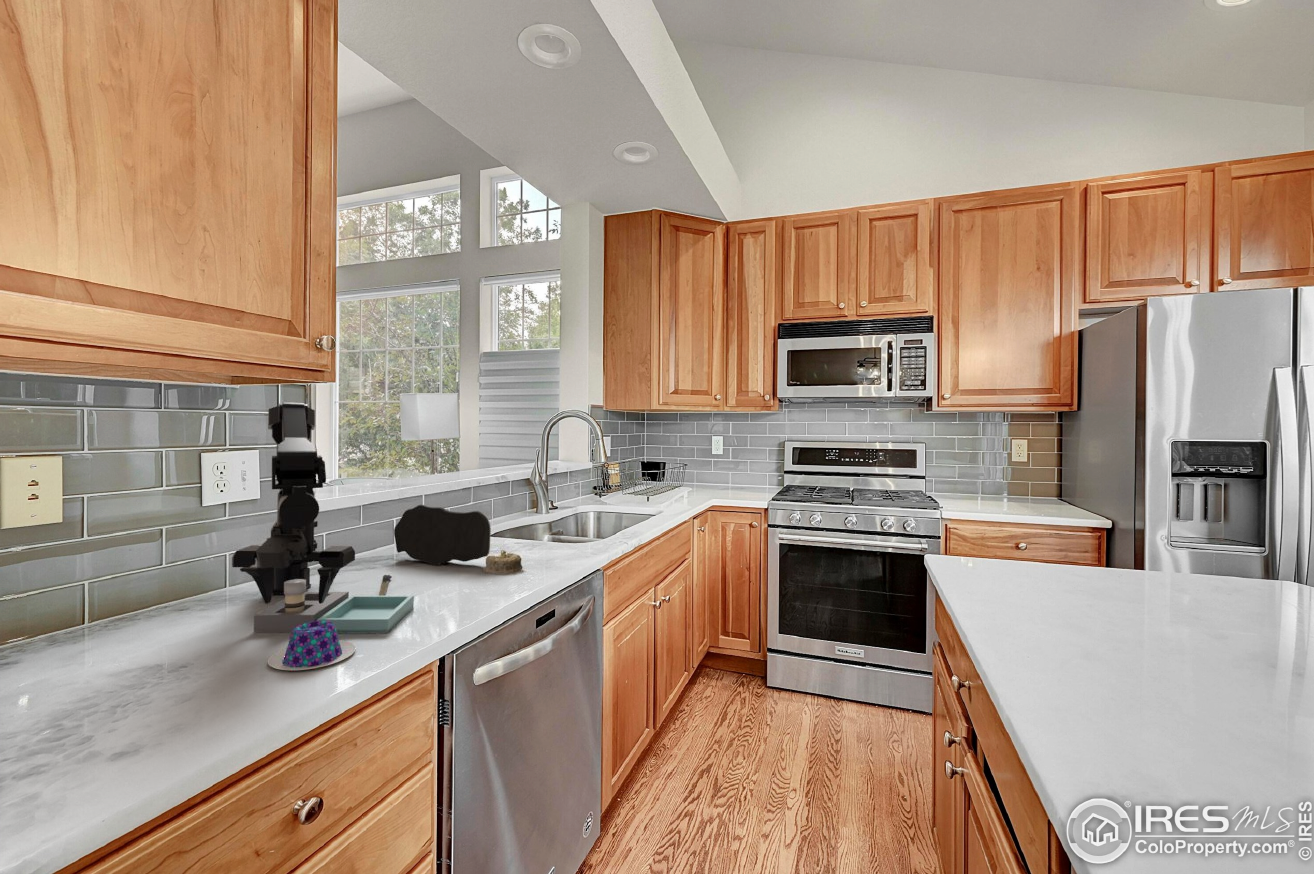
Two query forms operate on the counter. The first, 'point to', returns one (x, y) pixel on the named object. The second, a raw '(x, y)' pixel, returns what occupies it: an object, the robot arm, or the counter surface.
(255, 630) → the block
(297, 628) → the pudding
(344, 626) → the parts tray
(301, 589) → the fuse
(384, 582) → the tomahawk
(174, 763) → the counter surface
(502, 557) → the cake
